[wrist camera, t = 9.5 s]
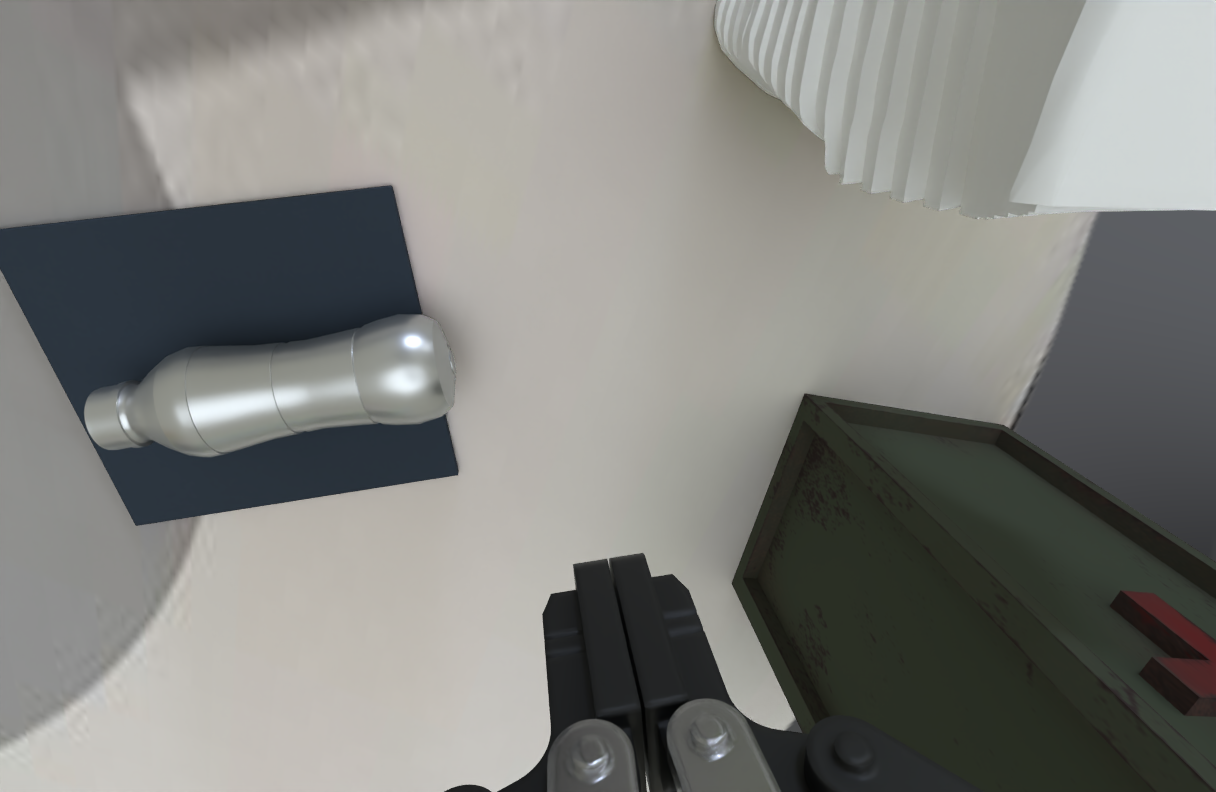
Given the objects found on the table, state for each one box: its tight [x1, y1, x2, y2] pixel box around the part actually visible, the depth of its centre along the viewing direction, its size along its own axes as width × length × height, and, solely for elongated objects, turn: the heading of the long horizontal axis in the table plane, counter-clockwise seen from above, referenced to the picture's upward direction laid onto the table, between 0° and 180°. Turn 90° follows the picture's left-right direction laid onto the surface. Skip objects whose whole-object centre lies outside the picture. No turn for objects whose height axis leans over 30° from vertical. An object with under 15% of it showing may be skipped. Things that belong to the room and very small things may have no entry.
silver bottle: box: [84, 314, 456, 457], centre depth 37 cm, size 6×7×20 cm
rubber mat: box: [0, 185, 458, 526], centre depth 40 cm, size 20×22×1 cm
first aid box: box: [732, 394, 1216, 792], centre depth 35 cm, size 18×18×40 cm
